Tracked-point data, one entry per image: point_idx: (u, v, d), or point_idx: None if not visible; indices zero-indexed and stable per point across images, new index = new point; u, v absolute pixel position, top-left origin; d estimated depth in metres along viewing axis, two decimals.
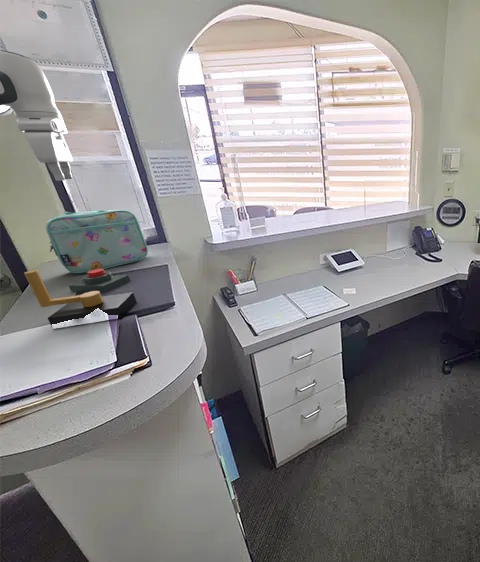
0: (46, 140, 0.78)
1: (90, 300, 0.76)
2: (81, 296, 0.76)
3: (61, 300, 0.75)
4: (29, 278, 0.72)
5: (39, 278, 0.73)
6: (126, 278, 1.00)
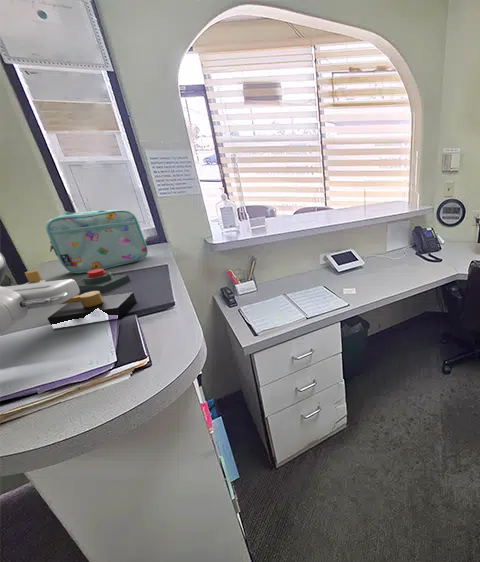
0: None
1: (90, 300, 0.76)
2: (81, 296, 0.76)
3: None
4: (29, 278, 0.72)
5: (39, 278, 0.73)
6: (126, 278, 1.00)
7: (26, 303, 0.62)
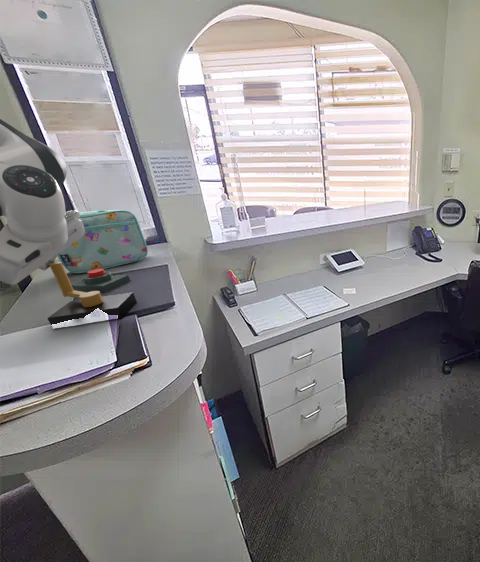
0: (7, 272, 0.65)
1: (84, 301, 0.76)
2: (81, 295, 0.77)
3: (73, 294, 0.79)
4: None
5: (60, 270, 0.78)
6: (126, 278, 1.00)
7: None
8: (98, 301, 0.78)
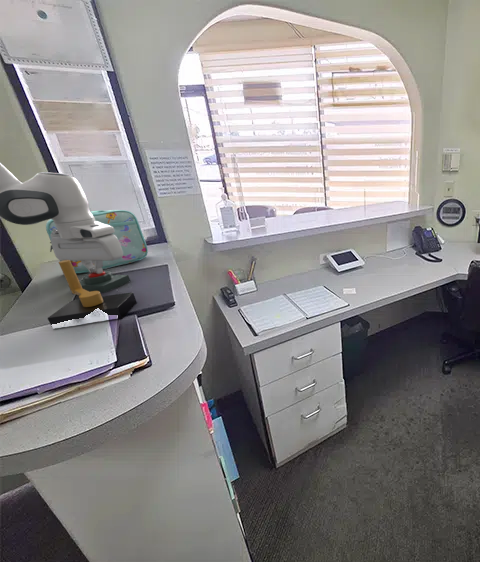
0: (116, 241, 0.93)
1: (82, 301, 0.76)
2: (82, 294, 0.77)
3: (77, 292, 0.80)
4: None
5: (68, 268, 0.79)
6: (126, 278, 1.00)
7: None
8: (96, 302, 0.77)
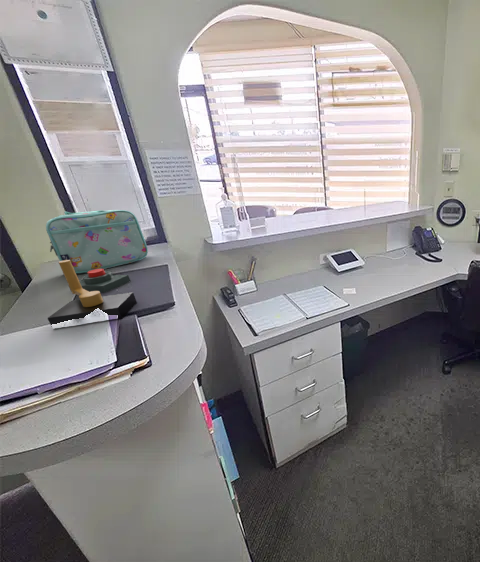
0: None
1: (82, 301, 0.76)
2: (82, 294, 0.77)
3: (77, 292, 0.80)
4: None
5: (68, 268, 0.79)
6: (126, 278, 1.00)
7: None
8: (96, 302, 0.77)
